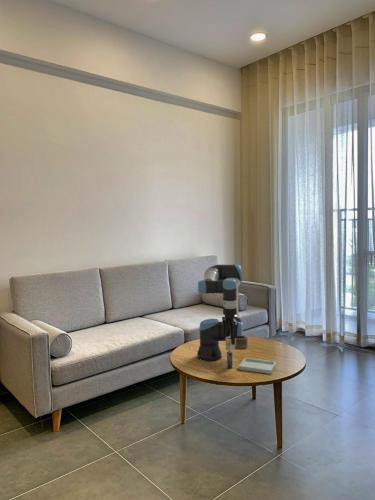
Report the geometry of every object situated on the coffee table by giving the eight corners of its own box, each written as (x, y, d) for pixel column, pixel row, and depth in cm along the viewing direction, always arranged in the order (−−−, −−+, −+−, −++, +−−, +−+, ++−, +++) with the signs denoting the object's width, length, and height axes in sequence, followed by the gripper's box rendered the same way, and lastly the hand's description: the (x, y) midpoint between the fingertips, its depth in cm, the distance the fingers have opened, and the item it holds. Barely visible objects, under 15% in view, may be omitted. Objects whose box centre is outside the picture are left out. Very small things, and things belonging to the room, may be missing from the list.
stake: (226, 368, 218) (226, 352, 217) (228, 366, 220) (227, 351, 220) (231, 368, 216) (231, 353, 216) (233, 367, 219) (232, 351, 218)
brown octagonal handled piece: (242, 344, 221) (242, 334, 220) (249, 348, 214) (249, 338, 214) (223, 348, 215) (223, 337, 215) (230, 352, 208) (230, 341, 208)
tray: (238, 369, 215) (238, 365, 215) (245, 360, 229) (245, 357, 228) (271, 373, 208) (271, 370, 208) (276, 364, 221) (276, 361, 221)
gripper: (216, 305, 217) (217, 345, 218) (232, 311, 202) (232, 354, 204) (227, 304, 220) (228, 343, 222) (243, 309, 205) (244, 352, 207)
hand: (230, 348), depth 213 cm, fingers closed on brown octagonal handled piece, 3 cm apart
